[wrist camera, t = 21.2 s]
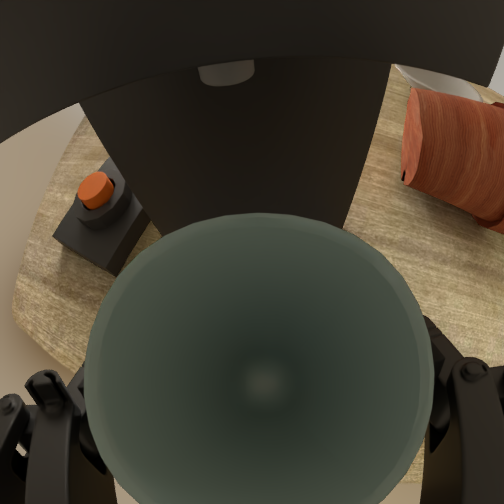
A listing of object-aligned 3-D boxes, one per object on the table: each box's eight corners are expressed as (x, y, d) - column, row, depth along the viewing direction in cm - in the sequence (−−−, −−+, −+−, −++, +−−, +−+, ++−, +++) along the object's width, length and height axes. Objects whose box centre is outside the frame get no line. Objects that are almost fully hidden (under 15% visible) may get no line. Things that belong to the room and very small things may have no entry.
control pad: (62, 245, 27) (42, 228, 24) (116, 167, 32) (103, 146, 28) (116, 277, 25) (95, 260, 21) (175, 182, 30) (164, 158, 26)
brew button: (80, 205, 25) (71, 195, 23) (99, 179, 26) (92, 169, 25) (100, 213, 24) (91, 203, 23) (120, 185, 26) (113, 174, 24)
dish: (458, 93, 37) (465, 75, 33) (485, 138, 31) (496, 117, 27) (381, 70, 40) (385, 48, 35) (398, 110, 34) (406, 84, 29)
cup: (338, 312, 15) (414, 209, 6) (337, 448, 12) (423, 525, 3) (200, 311, 16) (111, 212, 7) (192, 443, 12) (80, 504, 3)
